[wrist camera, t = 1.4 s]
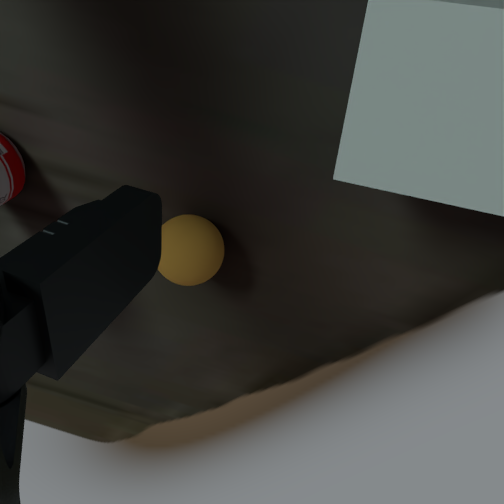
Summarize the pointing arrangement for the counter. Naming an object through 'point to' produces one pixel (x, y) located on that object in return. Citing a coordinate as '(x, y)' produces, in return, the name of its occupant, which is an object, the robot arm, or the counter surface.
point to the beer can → (10, 170)
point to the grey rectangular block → (429, 103)
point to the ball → (190, 250)
